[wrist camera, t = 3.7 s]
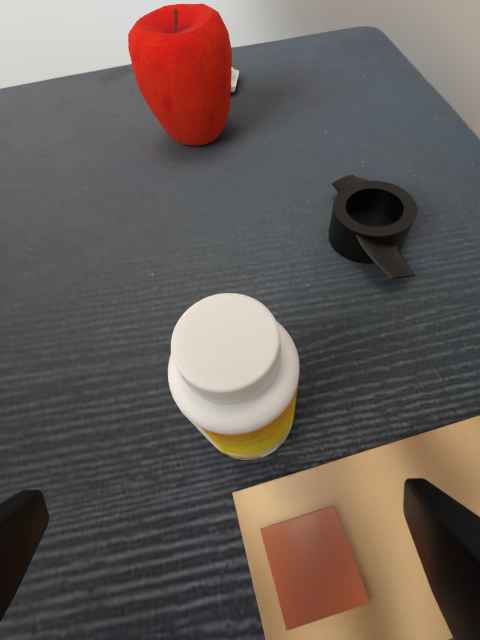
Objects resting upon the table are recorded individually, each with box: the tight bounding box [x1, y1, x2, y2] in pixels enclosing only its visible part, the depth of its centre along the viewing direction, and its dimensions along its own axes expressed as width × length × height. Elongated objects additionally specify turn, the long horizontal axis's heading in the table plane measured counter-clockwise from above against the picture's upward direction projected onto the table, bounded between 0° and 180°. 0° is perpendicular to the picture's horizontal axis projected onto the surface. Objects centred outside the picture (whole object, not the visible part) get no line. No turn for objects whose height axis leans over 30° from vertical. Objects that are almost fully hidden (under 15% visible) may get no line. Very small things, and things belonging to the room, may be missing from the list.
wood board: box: [232, 415, 480, 640], centre depth 17 cm, size 20×8×1 cm, turn 105°
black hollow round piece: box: [329, 175, 417, 278], centre depth 26 cm, size 8×10×3 cm
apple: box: [128, 4, 232, 145], centre depth 31 cm, size 9×9×11 cm
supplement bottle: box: [168, 293, 299, 460], centre depth 16 cm, size 6×6×10 cm
